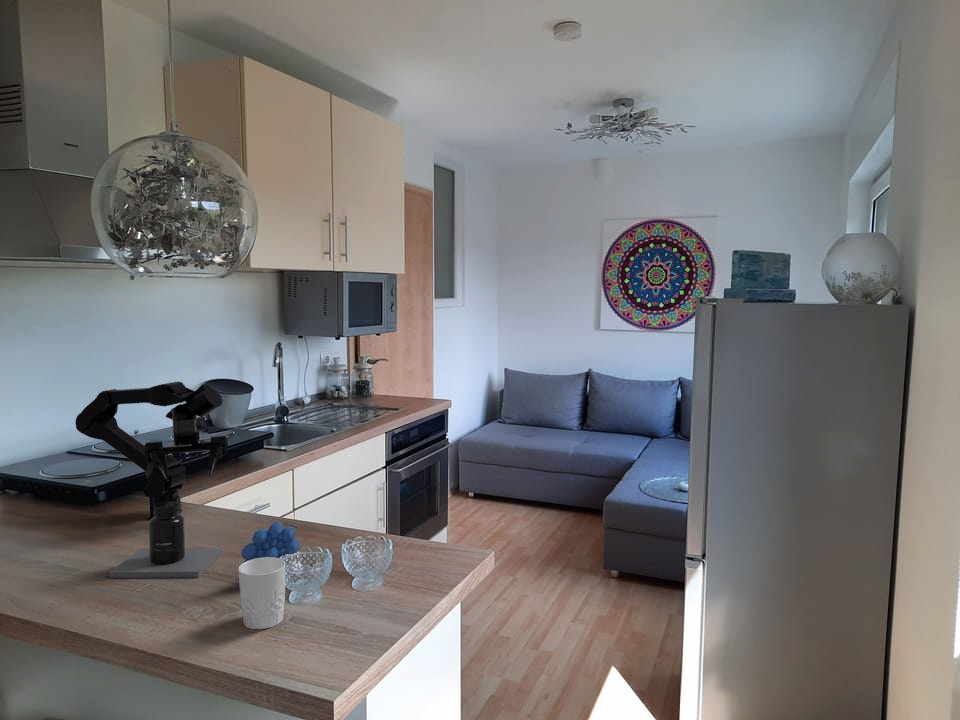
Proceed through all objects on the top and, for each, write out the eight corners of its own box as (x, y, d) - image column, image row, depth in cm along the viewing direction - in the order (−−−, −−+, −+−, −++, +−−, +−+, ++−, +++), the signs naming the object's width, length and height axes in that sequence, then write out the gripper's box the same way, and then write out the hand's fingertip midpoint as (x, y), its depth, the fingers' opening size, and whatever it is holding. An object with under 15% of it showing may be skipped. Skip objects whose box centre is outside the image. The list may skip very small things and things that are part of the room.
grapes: (294, 568, 139) (292, 512, 138) (303, 579, 134) (302, 522, 133) (236, 580, 133) (234, 522, 132) (243, 593, 128) (241, 532, 127)
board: (109, 577, 135) (109, 572, 135) (141, 553, 148) (141, 548, 147) (198, 577, 135) (198, 571, 135) (222, 553, 148) (222, 548, 148)
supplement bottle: (158, 568, 136) (156, 511, 135) (144, 560, 141) (141, 505, 140) (191, 558, 142) (189, 503, 141) (176, 550, 146) (174, 497, 145)
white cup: (293, 610, 120) (291, 557, 120) (278, 632, 113) (276, 575, 112) (250, 609, 121) (248, 556, 120) (232, 631, 113) (230, 574, 112)
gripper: (142, 409, 159) (144, 464, 150) (225, 403, 167) (232, 455, 158) (144, 435, 166) (146, 489, 158) (223, 429, 175) (229, 480, 166)
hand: (189, 478), depth 160 cm, fingers open, 9 cm apart
